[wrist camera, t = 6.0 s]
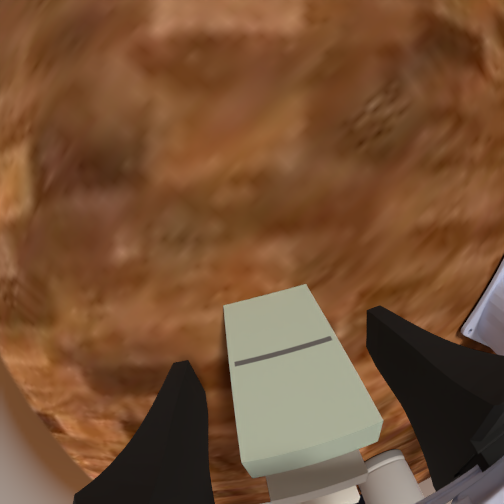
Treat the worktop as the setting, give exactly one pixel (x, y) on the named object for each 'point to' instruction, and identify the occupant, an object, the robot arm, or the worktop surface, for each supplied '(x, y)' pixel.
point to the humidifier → (361, 500)
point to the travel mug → (390, 480)
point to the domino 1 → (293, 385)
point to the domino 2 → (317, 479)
